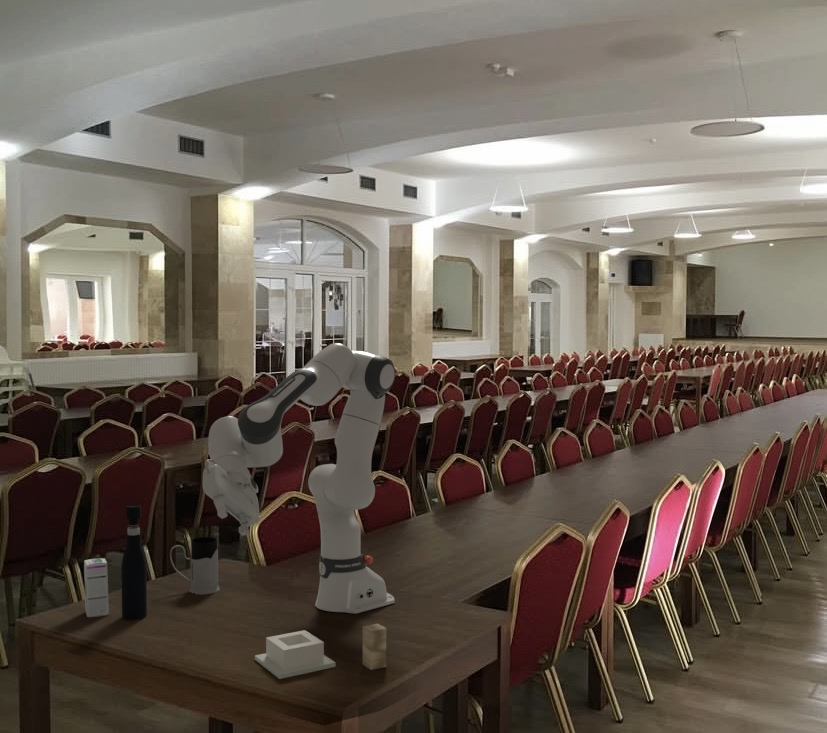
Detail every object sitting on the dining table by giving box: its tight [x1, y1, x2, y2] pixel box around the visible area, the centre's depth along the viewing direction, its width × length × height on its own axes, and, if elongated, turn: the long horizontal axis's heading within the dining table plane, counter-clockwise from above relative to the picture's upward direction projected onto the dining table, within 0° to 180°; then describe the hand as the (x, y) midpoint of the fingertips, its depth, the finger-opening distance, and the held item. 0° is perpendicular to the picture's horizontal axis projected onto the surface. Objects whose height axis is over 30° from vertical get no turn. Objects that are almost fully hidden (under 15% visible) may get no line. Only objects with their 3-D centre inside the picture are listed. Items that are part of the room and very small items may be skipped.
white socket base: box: [254, 629, 337, 680], centre depth 216 cm, size 14×14×6 cm
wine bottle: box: [121, 504, 148, 621], centre depth 249 cm, size 6×6×30 cm
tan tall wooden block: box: [362, 623, 387, 671], centre depth 215 cm, size 4×4×9 cm
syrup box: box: [83, 557, 110, 618], centre depth 252 cm, size 6×6×14 cm
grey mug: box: [169, 536, 220, 595], centre depth 274 cm, size 9×14×15 cm, turn 102°
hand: (233, 525), depth 214 cm, fingers open, 8 cm apart
